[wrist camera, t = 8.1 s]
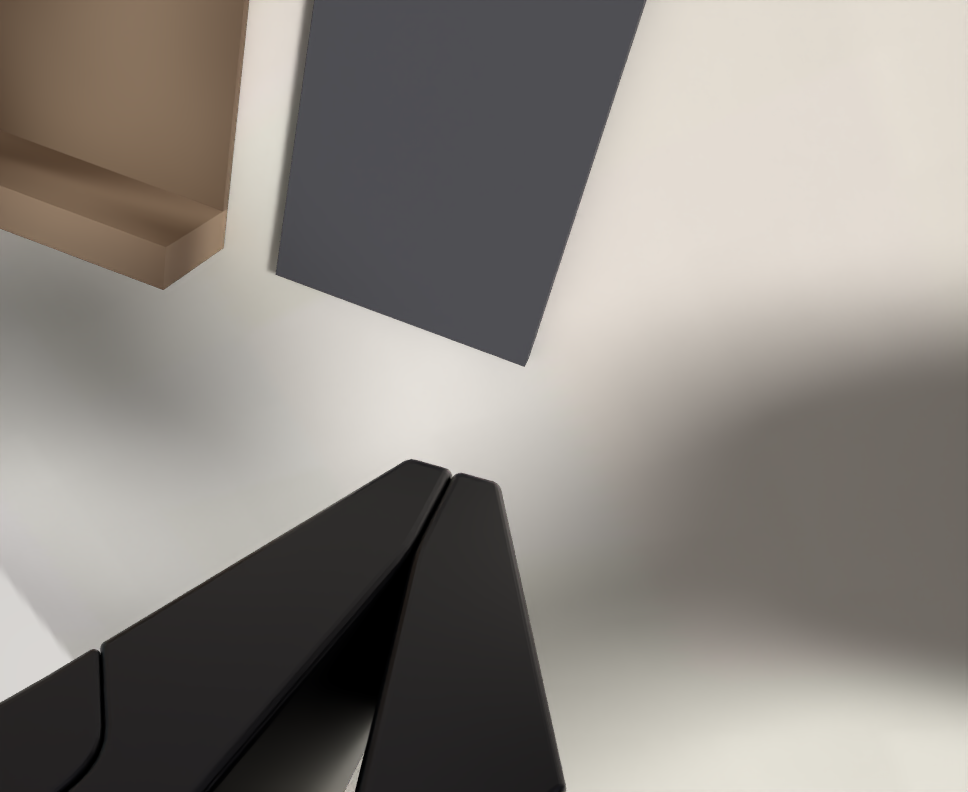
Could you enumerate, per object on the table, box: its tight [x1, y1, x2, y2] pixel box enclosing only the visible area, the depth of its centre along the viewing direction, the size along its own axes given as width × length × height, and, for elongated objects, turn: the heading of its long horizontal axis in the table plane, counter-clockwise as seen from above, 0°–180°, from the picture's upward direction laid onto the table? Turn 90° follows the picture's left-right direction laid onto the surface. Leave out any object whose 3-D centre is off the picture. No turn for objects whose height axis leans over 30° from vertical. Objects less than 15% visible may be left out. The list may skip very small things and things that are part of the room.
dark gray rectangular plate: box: [276, 0, 646, 367], centre depth 18 cm, size 6×9×1 cm, turn 165°
